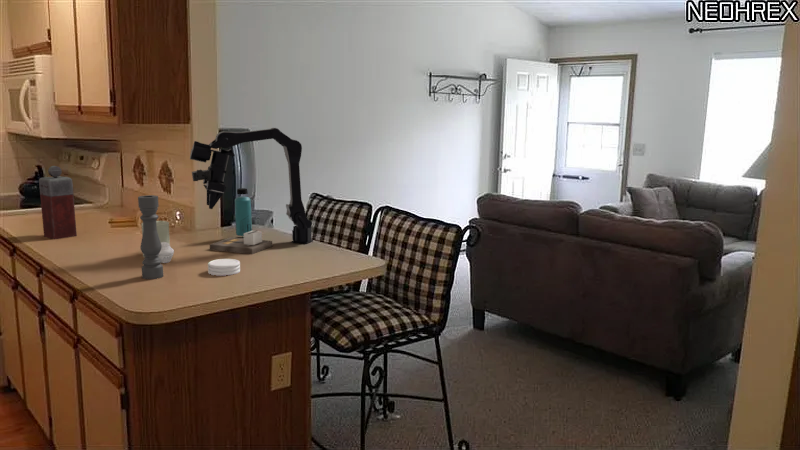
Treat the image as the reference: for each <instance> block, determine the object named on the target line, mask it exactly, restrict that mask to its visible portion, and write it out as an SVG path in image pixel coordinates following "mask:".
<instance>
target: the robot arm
mask: <svg viewBox="0 0 800 450" xmlns="http://www.w3.org/2000/svg"><path fill="white" fill-rule="evenodd" d="M272 139H273V140H274V141H275V142H276V143H278V144H279V145H280V146H281V147H283V152H284V155H285V159H286V161H287V165H288V166H287V167H288V179H289V180H288V181H289V184H288V185H289V197H290V199H289V204H287V203H286V204H285V208H286V213H285V214H286V216H287V217H288V219H289V220H290V221H291V222H292V223H293V225H294V226H292V227H293V228H292V230H291V231H292V232H291V233H292V234H291V235H292V241H291V243H292V244H293V243H295V244H304V245H306V244H308V243H311V242H312V243H313V241H314V239H312V224H313V222H312V221H311V220H310V219H309V218H308V217H307V214H306V209H305V206H304V203H303V200H302V187H301V173H300V162H301V158H302V151H303V146H302V143H301V142H300V141H298V140H297V139H292V138H290V137H289V136H288V135H286V134H285V133H283V132H282V131H281V130H280V129H279V128H277V127H271V128H267V129H258V130H257V129H256V130H250V131H249V130H248V131H243V132H242V131H239V132H237V131H219V132H218V133H217V134H216V135H215V138H214V140H212V141H211V142H210V143H209V144H208V143H202V142H200V141H197V140H194V141H193V145H192V148H191V150H190V155H189V160H192V161H195V162H196V161H197V162H200V163H207V161H208V162H209V161H210V164H209V166H208V168H207V169H205V170H204V169H201V168H200V169H197V170H195V171H191V176H192V181H193V182H198V181H203V182H202V184H203V185H202V186H204V188H205V190H206V206H208V209H210V210H213V209H214V208H215V206H216V204H217V203H218V202H219V200H220V199H221V198H222V196H223V195H224V193H225V192H226V190H227V189H226V188H227V186H226V185H225V181H224V179H225V175H226V174H227V165H228V162H229V157H230V156H231V157H236V154H234V151H233V149H232V147H234V146H237V145H240V144H243V143H250V142H258V141H267V140H272ZM228 148H229V149H228ZM217 149H219V150H217ZM211 155H212V156H211Z"/></svg>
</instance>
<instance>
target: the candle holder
mask: <svg viewBox="0 0 800 450" xmlns="http://www.w3.org/2000/svg"><path fill="white" fill-rule="evenodd" d="M137 200H138V201H137V203H138V208H139V211H140V212H141V215H140V217H139V218H140V220H141V221H142V223H143V236H141V241H140V249H139V250H140V251H141V253H142V255H143V254H144V257H143V260H142V263H141V264H142V266H141V277H142V278H141V279H144V280H156V279H157V278H158V279H160V278H163V277H164V265H163V263H161V262H162V260H161V259H160V258H159V257H158V256H159V253H160V251H161V248H162V245H161V242H160V239H159V235H158V232H157V225H156V221H158V219H159V215H158V214H157V211H158V209H159V206H160V205H159V196H158V195H153V194H151V195H139V196H138V197H137Z"/></svg>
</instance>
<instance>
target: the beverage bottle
mask: <svg viewBox="0 0 800 450" xmlns="http://www.w3.org/2000/svg"><path fill="white" fill-rule="evenodd" d="M236 194H237V195H240V196H237V197H236V198H235V199H234V212H235V214H234V215H235V217H234V219H235V234H236V236H239V237H244V233H246V232H249V231H253V224H252V220H253V219H252V207H251V206H252V205H251V204H252V203H251V201H252V200H251V198H250V197H248V196H241V195H248V194H249V192H248V188H247V187H246V188H245V187H244V188H243V187H240V188H237V190H236Z"/></svg>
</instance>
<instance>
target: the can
mask: <svg viewBox="0 0 800 450" xmlns="http://www.w3.org/2000/svg"><path fill="white" fill-rule="evenodd" d="M140 225H141V235H142V236H143V222H141V224H140ZM156 225H157V232H158V235H159V239H160V242H161V243H162V242H167V243H169V244H170V245H171V241H170V222H169V221H167V220H156ZM142 236H141V237H142ZM142 257H143V258H145V257H144V254H143V253H142Z"/></svg>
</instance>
